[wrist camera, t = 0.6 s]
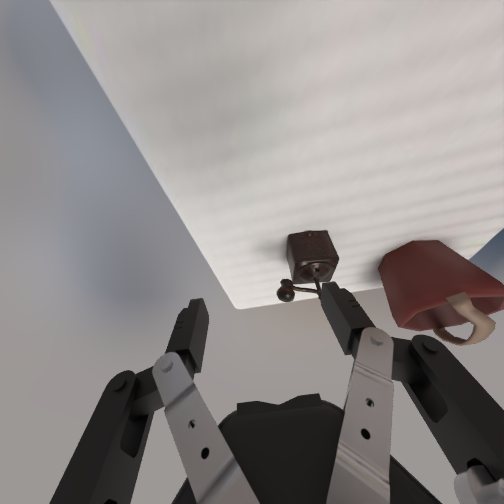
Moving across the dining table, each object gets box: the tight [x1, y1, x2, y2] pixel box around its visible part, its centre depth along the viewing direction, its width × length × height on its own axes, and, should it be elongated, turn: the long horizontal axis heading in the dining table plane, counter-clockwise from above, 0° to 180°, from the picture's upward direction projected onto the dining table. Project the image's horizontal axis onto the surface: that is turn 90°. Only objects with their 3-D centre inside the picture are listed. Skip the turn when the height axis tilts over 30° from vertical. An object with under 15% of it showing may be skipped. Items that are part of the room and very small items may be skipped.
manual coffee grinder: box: [277, 231, 339, 302], centre depth 48 cm, size 16×11×18 cm
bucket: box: [378, 240, 504, 346], centre depth 52 cm, size 24×22×25 cm
